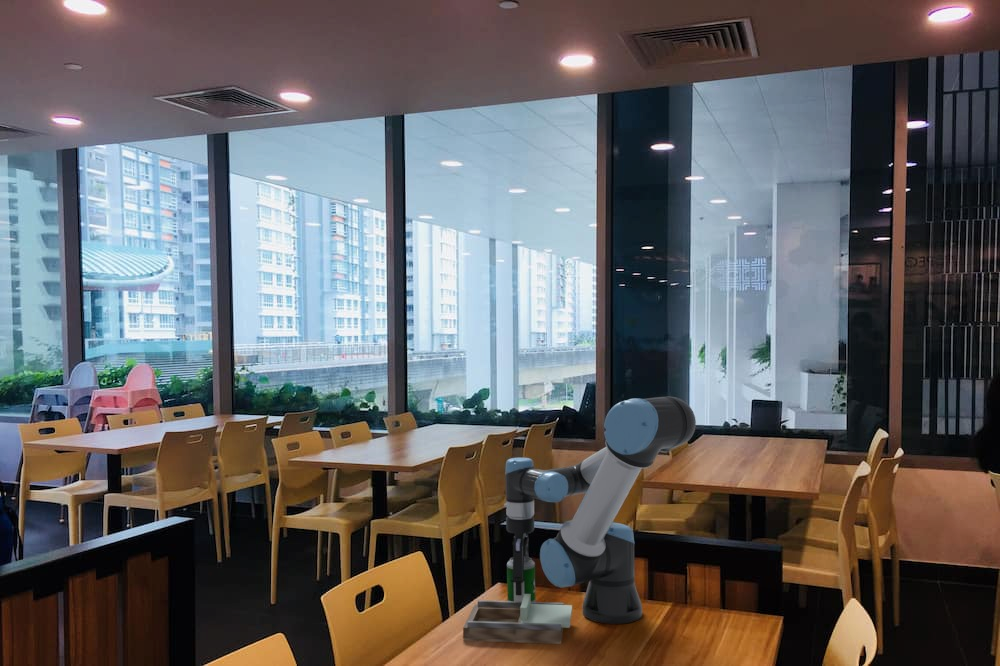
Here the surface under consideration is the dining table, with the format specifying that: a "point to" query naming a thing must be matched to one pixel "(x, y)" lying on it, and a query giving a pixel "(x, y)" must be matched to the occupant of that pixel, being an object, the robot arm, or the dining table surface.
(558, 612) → the lid
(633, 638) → the dining table surface
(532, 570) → the soda can
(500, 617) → the wooden tray box
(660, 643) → the dining table surface
